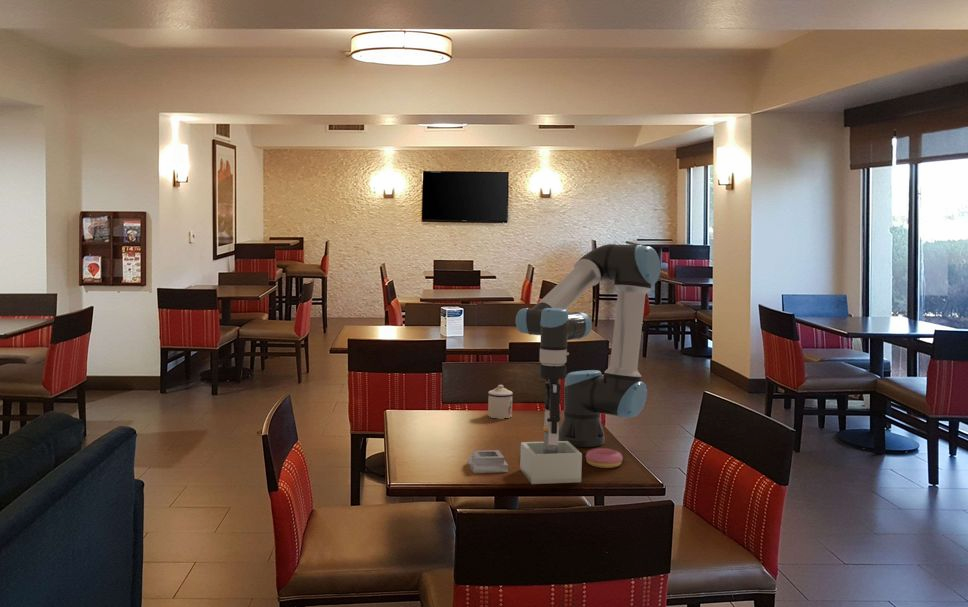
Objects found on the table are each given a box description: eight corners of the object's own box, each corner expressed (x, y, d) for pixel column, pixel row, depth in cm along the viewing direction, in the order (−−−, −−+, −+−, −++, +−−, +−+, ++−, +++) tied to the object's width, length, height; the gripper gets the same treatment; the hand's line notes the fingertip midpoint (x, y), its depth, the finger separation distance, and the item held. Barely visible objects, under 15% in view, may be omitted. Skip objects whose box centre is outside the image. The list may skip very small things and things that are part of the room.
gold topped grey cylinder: (541, 469, 256) (542, 424, 255) (557, 469, 256) (558, 425, 255) (542, 474, 251) (543, 428, 250) (558, 474, 251) (560, 428, 250)
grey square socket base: (500, 462, 266) (501, 449, 266) (508, 471, 256) (508, 458, 256) (467, 463, 264) (467, 450, 264) (473, 473, 254) (473, 459, 254)
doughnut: (628, 468, 263) (629, 454, 263) (594, 470, 260) (594, 456, 260) (613, 458, 274) (613, 445, 273) (579, 460, 270) (579, 447, 270)
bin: (567, 467, 262) (567, 440, 261) (581, 482, 248) (582, 453, 247) (520, 469, 259) (520, 442, 258) (531, 483, 245) (532, 455, 244)
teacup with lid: (514, 419, 321) (514, 387, 320) (488, 419, 320) (489, 387, 319) (509, 412, 333) (510, 381, 332) (485, 412, 332) (485, 381, 331)
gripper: (571, 371, 238) (569, 450, 240) (562, 356, 263) (560, 428, 265) (543, 371, 238) (541, 449, 240) (536, 356, 263) (534, 427, 265)
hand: (551, 438), depth 252 cm, fingers open, 13 cm apart
